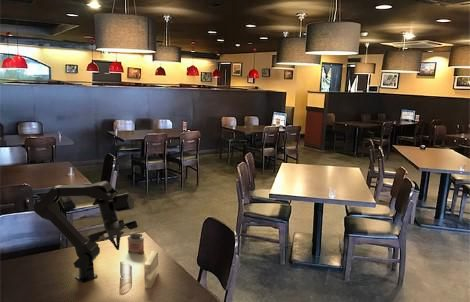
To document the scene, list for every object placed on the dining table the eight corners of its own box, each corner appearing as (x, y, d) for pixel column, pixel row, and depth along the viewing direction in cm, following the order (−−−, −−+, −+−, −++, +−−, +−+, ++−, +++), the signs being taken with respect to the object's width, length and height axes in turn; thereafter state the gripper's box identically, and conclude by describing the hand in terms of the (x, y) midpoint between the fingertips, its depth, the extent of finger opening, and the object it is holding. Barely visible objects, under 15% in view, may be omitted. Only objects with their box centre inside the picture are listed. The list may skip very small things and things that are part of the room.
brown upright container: (126, 253, 173) (126, 233, 172) (130, 250, 177) (129, 230, 175) (142, 255, 172) (141, 235, 170) (145, 252, 175) (145, 232, 173)
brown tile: (144, 287, 145) (144, 264, 143) (152, 272, 156) (152, 250, 155) (150, 288, 144) (150, 264, 143) (158, 272, 156) (158, 250, 154)
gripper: (84, 226, 135) (95, 265, 137) (135, 210, 142) (144, 247, 144) (83, 218, 145) (93, 255, 147) (130, 204, 152) (139, 239, 155)
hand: (118, 249), depth 148 cm, fingers closed
